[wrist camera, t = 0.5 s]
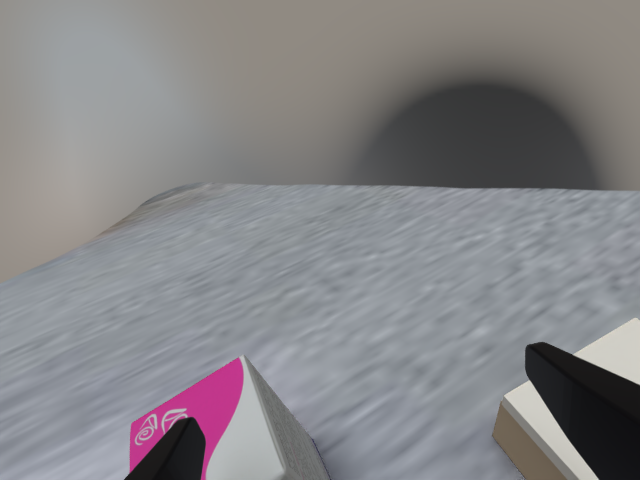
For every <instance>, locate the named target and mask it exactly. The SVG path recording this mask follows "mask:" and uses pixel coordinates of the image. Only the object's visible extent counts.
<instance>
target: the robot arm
mask: <svg viewBox="0 0 640 480" xmlns="http://www.w3.org/2000/svg"><path fill="white" fill-rule="evenodd" d="M525 370H526V374H527V376H528V378H529V380H530V381H531V383H532V384H533V386H534V387H535V389H536V391H537V392H538V394H539V395H540V397H541V398H542V400H543V401H544V403H545V405H546V406H547V408H548V409H549V411H550V412H551V414H552V416H553V417H554V419H555V420H556V422H557V423H558V425H559V426H560V428H561V430H562V431H563V433H564V434H565V436H566V437H567V438H568V440H569V441H570V443H571V444H572V445H573V447H574V448H575V449H576V451H577V452H578V453H579V455H580V456H581V457H582V458H583V460H584V461H585V462H586V464H587V465H588V466H589V467H590V469H591V470H592V471H593V473H594V474H595V475H596V477H597V478H598V479H599V480H640V385H639V384H637V383H635V382H633V381H630V380H628V379H626V378H624V377H621V376H619V375H617V374H615V373H612V372H610V371H608V370H606V369H604V368H601V367H599V366H597V365H595V364H592V363H590V362H588V361H586V360H583V359H581V358H579V357H577V356H575V355H572V354H570V353H568V352H566V351H563V350H561V349H559V348H557V347H554V346H552V345H550V344H548V343H545V342H538V343H534V344H529V345H527V346H526V349H525ZM205 449H206V439H205V435H204V433H203V432H202V430H201V428H200V426H199V424H198V422H197V420H196V419H195V418H194V417H187V418H182V419H179V420H177V421H176V422H175V423H174V424H173V425H172V427H171V428H170V429H169V430H168V431H167V432H166V433H165V434H164V435H163V437H162V438H161V439H160V440H159V441H158V442H157V443H156V444H155V446H154V447H153V448H152V449H151V450H150V451H149V452H148V453H147V454H146V456H145V457H144V458H143V459H142V460H141V461H140V462H139V463H138V464H137V466H136V467H135V468H134V469H133V470H132V471H131V472H130V473H129V475H128V476H127V477H126V478H125V479H124V480H201V476H202V469H203V462H204V455H205Z"/></svg>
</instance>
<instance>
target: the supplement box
mask: <svg viewBox="0 0 640 480" xmlns="http://www.w3.org/2000/svg"><path fill="white" fill-rule="evenodd" d="M187 417H194V418H195V419H196V420H197V422H198V424H199V426H200V428H201V430H202V432H203V433H204V435H205V439H206V449H205V455H204V462H203V469H202V476H201V480H331V479H330V477H329V475H328V473H327V470H326V468H325V466H324V464H323V461H322V459H321V457H320V455H319V452H318V450H317V448H316V445H315V443H314V441H313V439H312V438H311V437H310V436H309V435H308V433H307V432H306V431H305V430H304V429H303V428H302V426H301V425H300V424H299V422H298V421H297V420H296V419H295V417H294V416H293V415H292V414H291V412H290V411H289V410H288V409H287V407H286V406H285V405H284V404H283V403H282V401H281V400H280V399H279V397H278V396H277V395H276V394H275V392H274V391H273V390H272V389H271V387H270V386H269V385H268V384H267V382H266V381H265V380H264V379H263V377H262V376H261V375H260V374H259V372H258V371H257V370H256V369H255V367H254V366H253V365H252V364H251V362H250V361H249V360H248V359H247V357H246V356H245V355H241V356H240V357H238V358H237V359H235V360H233V361H232V362H230V363H229V364H227V365H225V366H224V367H222V368H220V369H219V370H217V371H215V372H214V373H212V374H211V375H209V376H207V377H206V378H204V379H203V380H201V381H199V382H198V383H196V384H195V385H193V386H191V387H190V388H188V389H186V390H185V391H183V392H182V393H180V394H178V395H177V396H175V397H173V398H172V399H170V400H169V401H167V402H165V403H164V404H162V405H160V406H159V407H157V408H156V409H154V410H152V411H151V412H149V413H147V414H146V415H144V416H142V417H141V418H139V419H138V420H136V421H134V422H133V423H132V424H131V432H130V472H131V471H132V470H133V469H134V468H135V467H136V466H137V464H138V463H139V462H140V461H141V460H142V459H143V458H144V457H145V456H146V454H147V453H148V452H149V451H150V450H151V449H152V448H153V447H154V446H155V444H156V443H157V442H158V441H159V440H160V439H161V438H162V437H163V435H164V434H165V433H166V432H167V431H168V430H169V429H170V428H171V427H172V425H173V424H174V423H175V422H176V421H177V420H179V419H182V418H187Z"/></svg>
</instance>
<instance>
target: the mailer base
mask: <svg viewBox="0 0 640 480" xmlns="http://www.w3.org/2000/svg"><path fill="white" fill-rule="evenodd" d="M492 436H493V437H494V439H495V440H496V441H497V442H498V444H499V445H500V446H501V448H502V449H503V450H504V451H505V453H506V454H507V455H508V457H509V458H510V459H511V460H512V462H513V463H514V464H515V465H516V467H517V468H518V469H519V471H520V472H521V473H522V474H523V476H524V477H525V478H526V480H567V479H566V477H565V476H564V475H563V474H562V473H561V472H560V471H559V469H558V468H557V467H556V466H555V465H554V464H553V463H552V461H551V460H550V459H549V458H548V457H547V456H546V455H545V453H544V452H543V451H542V450H541V449H540V448H539V447H538V445H537V444H536V443H535V442H534V441H533V440H532V439H531V437H530V436H529V435H528V434H527V433H526V432H525V431H524V429H523V428H522V427H521V426H520V425H519V424H518V423H517V421H516V420H515V419H514V418H513V417H512V416H511V415H510V414H509V412H508V411H507V410H506V409H505V408H504V407H503V406H502V401H501V403H500V407H499V411H498V415H497V419H496V423H495V427H494V431H493V435H492Z"/></svg>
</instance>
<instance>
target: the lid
mask: <svg viewBox="0 0 640 480" xmlns="http://www.w3.org/2000/svg"><path fill="white" fill-rule="evenodd" d="M573 355H575V356H577V357H579V358H581V359H583V360H586V361H588V362H590V363H592V364H595V365H597V366H599V367H601V368H604V369H606V370H608V371H610V372H612V373H615V374H617V375H619V376H621V377H624V378H626V379H628V380H630V381H633V382H635V383H637V384H639V385H640V320H638V319H637V318H634V319H632V320H630V321H629V322H627V323H625V324H624V325H622V326H620V327H619V328H617V329H615V330H613V331H612V332H610V333H608V334H607V335H605V336H603V337H602V338H600V339H598V340H597V341H595V342H593V343H592V344H590V345H588V346H586V347H585V348H583V349H581V350H580V351H578V352H576V353H575V354H573ZM502 406H503V407H504V408H505V409H506V410H507V411H508V412H509V414H510V415H511V416H512V417H513V418H514V419H515V420H516V421H517V423H518V424H519V425H520V426H521V427H522V428H523V429H524V431H525V432H526V433H527V434H528V435H529V436H530V437H531V439H532V440H533V441H534V442H535V443H536V444H537V445H538V447H539V448H540V449H541V450H542V451H543V452H544V453H545V455H546V456H547V457H548V458H549V459H550V460H551V461H552V463H553V464H554V465H555V466H556V467H557V468H558V469H559V471H560V472H561V473H562V474H563V475H564V476H565V477H566V479H567V480H599V479H598V478H597V477H596V475H595V474H594V473H593V471H592V470H591V469H590V467H589V466H588V465H587V464H586V462H585V461H584V460H583V458H582V457H581V456H580V455H579V453H578V452H577V451H576V449H575V448H574V447H573V445H572V444H571V443H570V441H569V440H568V438H567V437H566V436H565V434H564V433H563V431H562V430H561V428H560V426H559V425H558V423H557V422H556V420H555V419H554V417H553V416H552V414H551V412H550V411H549V409H548V408H547V406H546V405H545V403H544V401H543V400H542V398H541V397H540V395H539V394H538V392H537V391H536V389H535V387H534V386H533V384H532V383H531V381H530V380H529V381H527V382H526V383H524V384H522V385H521V386H519V387H517V388H516V389H514V390H512V391H511V392H509V393H507V394H505V395H504V396H503V400H502Z"/></svg>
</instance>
